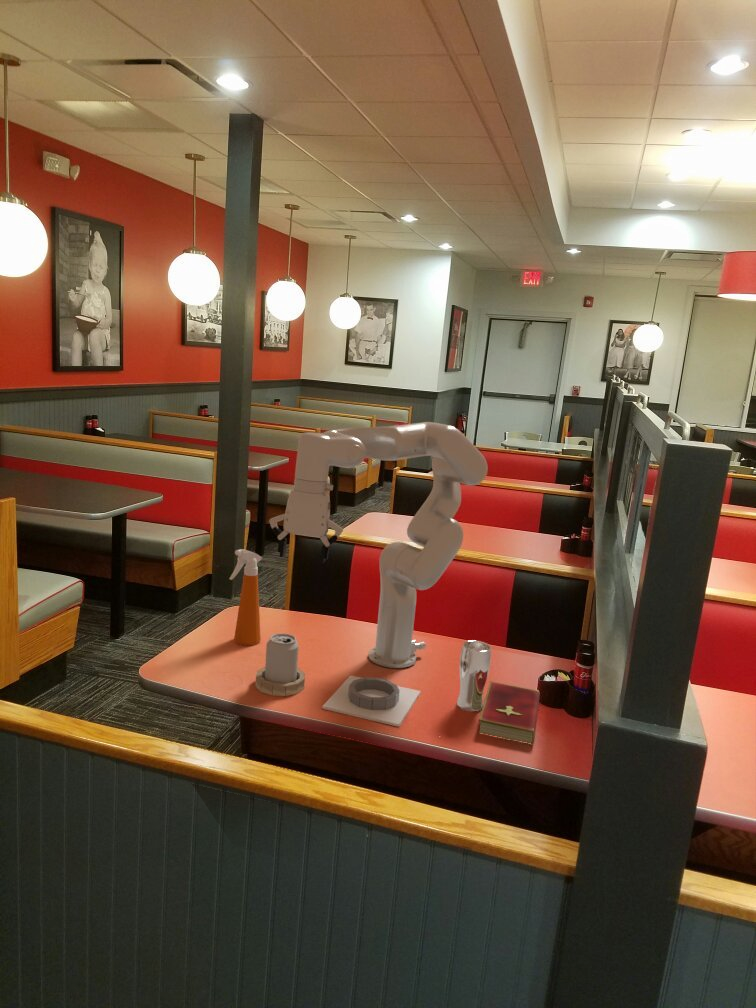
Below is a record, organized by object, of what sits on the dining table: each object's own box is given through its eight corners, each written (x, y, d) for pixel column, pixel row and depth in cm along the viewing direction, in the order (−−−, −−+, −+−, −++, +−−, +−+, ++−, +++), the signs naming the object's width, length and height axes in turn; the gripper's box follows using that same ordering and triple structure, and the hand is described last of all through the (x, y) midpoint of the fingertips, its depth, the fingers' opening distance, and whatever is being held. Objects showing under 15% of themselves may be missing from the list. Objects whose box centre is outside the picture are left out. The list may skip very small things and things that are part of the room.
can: (290, 694, 168) (293, 645, 166) (259, 688, 169) (262, 640, 167) (300, 681, 175) (303, 634, 173) (270, 676, 177) (273, 629, 174)
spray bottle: (217, 643, 193) (222, 548, 188) (248, 633, 202) (252, 542, 196) (235, 651, 189) (240, 554, 184) (266, 641, 197) (271, 547, 192)
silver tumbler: (465, 696, 175) (472, 637, 172) (490, 706, 171) (497, 646, 168) (449, 705, 170) (456, 644, 167) (474, 716, 165) (482, 654, 162)
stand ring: (290, 671, 180) (291, 661, 180) (312, 690, 171) (313, 680, 170) (248, 679, 174) (248, 669, 173) (268, 699, 165) (269, 689, 164)
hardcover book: (538, 705, 174) (540, 689, 173) (532, 748, 154) (535, 730, 153) (488, 695, 177) (490, 679, 176) (476, 736, 157) (479, 718, 156)
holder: (350, 677, 179) (351, 666, 179) (420, 693, 174) (421, 681, 174) (322, 708, 163) (323, 695, 162) (399, 726, 157) (400, 713, 157)
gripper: (349, 489, 170) (341, 560, 173) (277, 479, 171) (270, 550, 174) (345, 494, 163) (336, 567, 165) (269, 484, 164) (262, 557, 167)
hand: (302, 558), depth 170 cm, fingers open, 9 cm apart
